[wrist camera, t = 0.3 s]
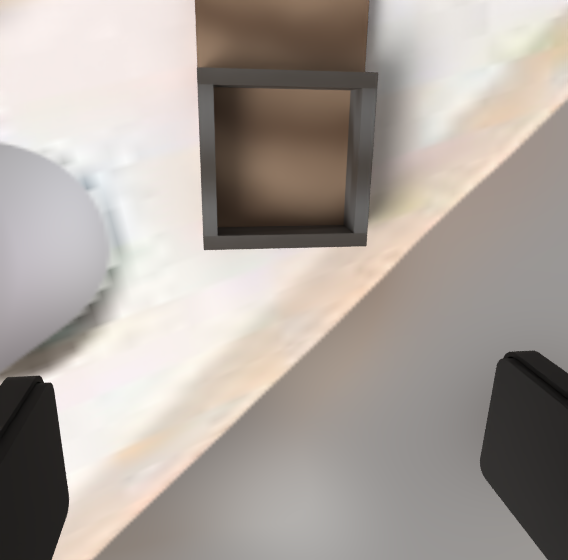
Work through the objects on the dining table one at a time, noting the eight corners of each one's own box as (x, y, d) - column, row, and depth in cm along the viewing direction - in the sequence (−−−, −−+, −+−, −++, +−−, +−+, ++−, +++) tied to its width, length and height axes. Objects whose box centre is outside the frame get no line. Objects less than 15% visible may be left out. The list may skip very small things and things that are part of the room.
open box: (194, -22, 34) (192, -42, 29) (363, -13, 35) (385, -30, 31) (204, 235, 39) (203, 249, 35) (349, 232, 41) (366, 246, 37)
